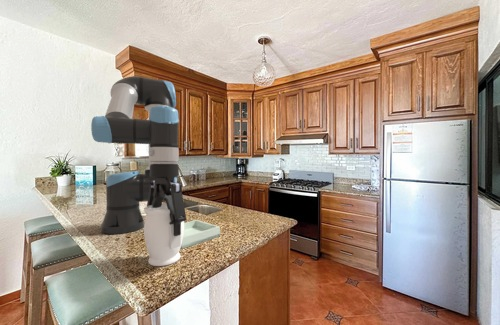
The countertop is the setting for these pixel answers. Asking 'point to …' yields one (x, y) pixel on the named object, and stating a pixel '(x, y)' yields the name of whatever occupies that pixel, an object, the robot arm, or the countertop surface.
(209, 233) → the tray
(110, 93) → the robot arm
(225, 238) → the countertop surface
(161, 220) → the jar
